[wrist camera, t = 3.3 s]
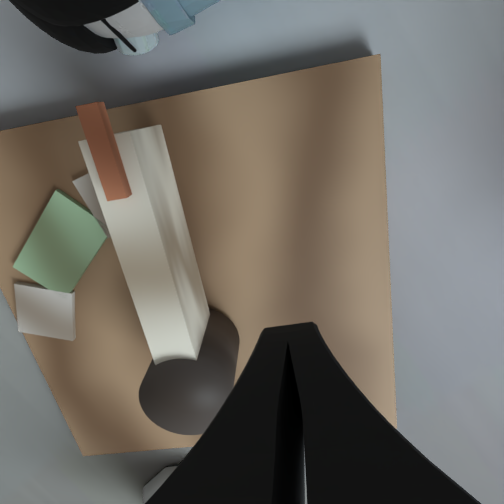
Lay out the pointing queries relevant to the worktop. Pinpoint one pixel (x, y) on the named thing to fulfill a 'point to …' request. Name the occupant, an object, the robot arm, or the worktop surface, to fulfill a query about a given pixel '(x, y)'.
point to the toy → (111, 21)
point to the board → (208, 239)
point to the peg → (160, 274)
